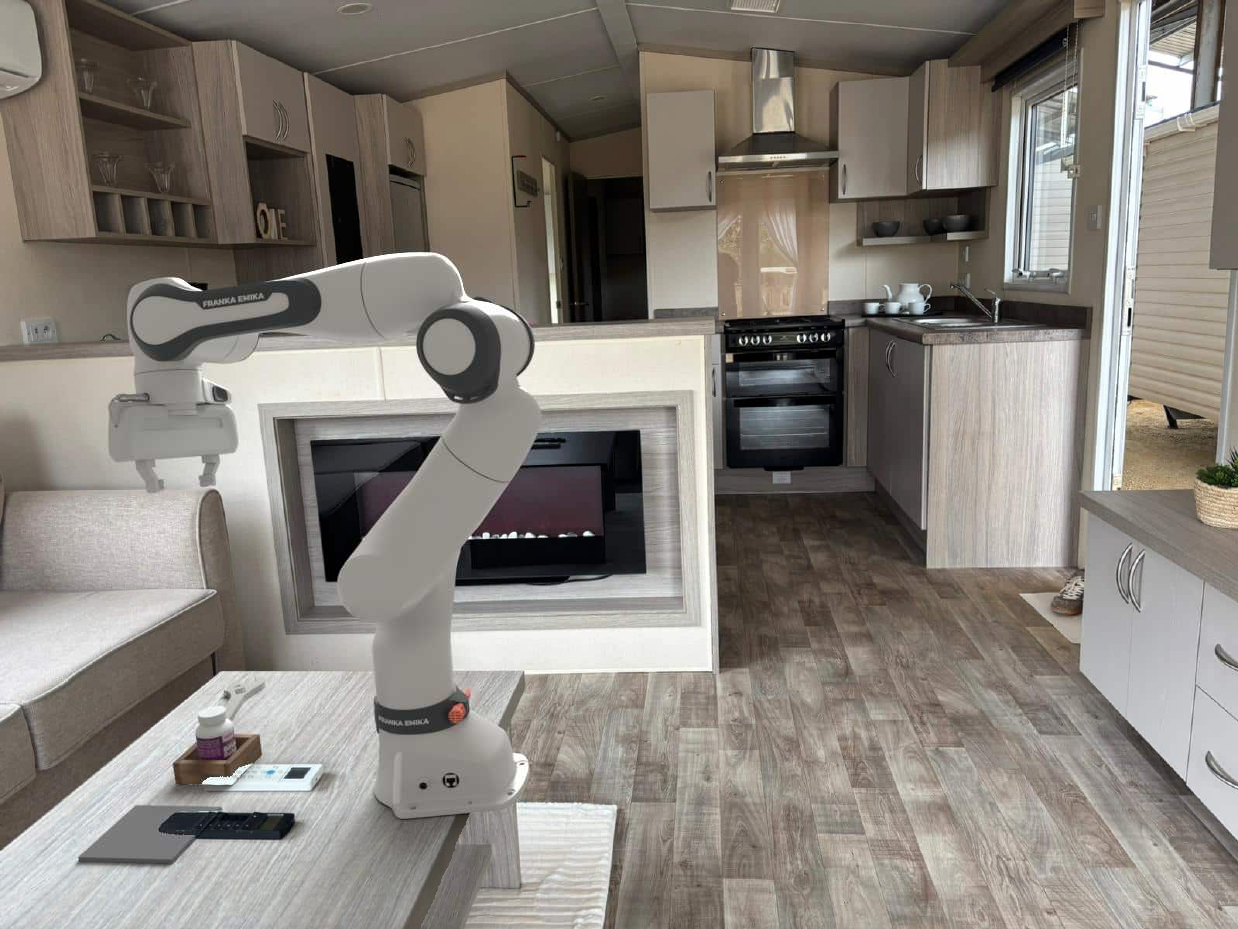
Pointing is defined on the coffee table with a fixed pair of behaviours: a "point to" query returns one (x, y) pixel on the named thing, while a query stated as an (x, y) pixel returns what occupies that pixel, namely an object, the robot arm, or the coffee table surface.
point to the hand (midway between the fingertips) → (182, 489)
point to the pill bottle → (215, 734)
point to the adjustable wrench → (241, 695)
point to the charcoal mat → (142, 837)
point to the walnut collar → (216, 761)
